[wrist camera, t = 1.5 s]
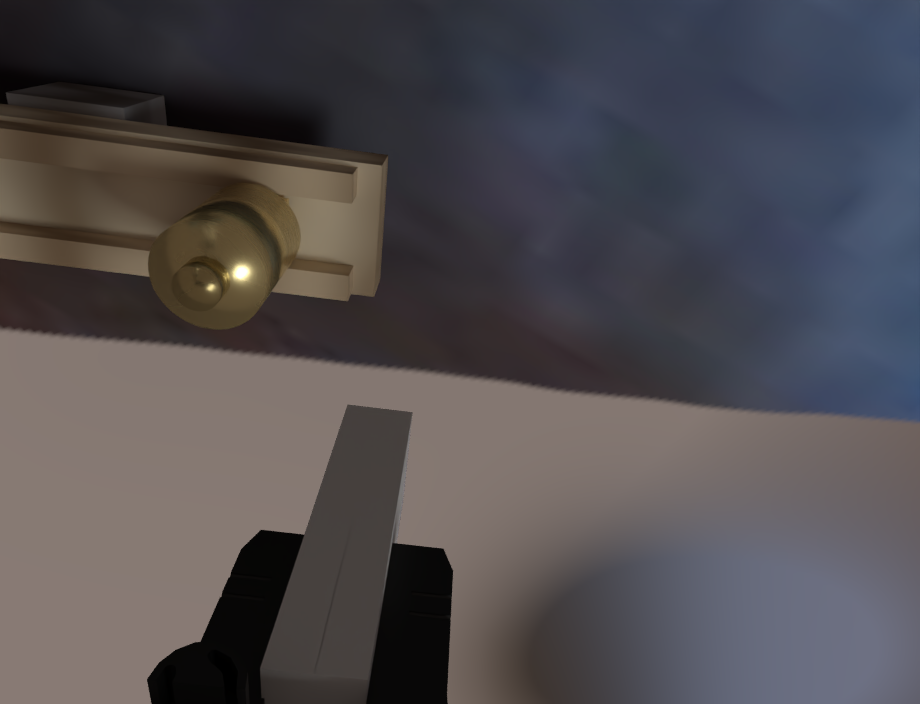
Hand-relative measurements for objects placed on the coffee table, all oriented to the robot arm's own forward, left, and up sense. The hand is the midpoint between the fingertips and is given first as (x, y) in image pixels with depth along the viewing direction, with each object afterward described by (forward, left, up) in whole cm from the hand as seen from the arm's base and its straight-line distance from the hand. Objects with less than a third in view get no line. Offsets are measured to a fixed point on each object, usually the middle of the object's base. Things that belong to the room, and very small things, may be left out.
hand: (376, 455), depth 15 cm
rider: (-3, -6, -14) cm, 16 cm away
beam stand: (-8, -14, -21) cm, 26 cm away
